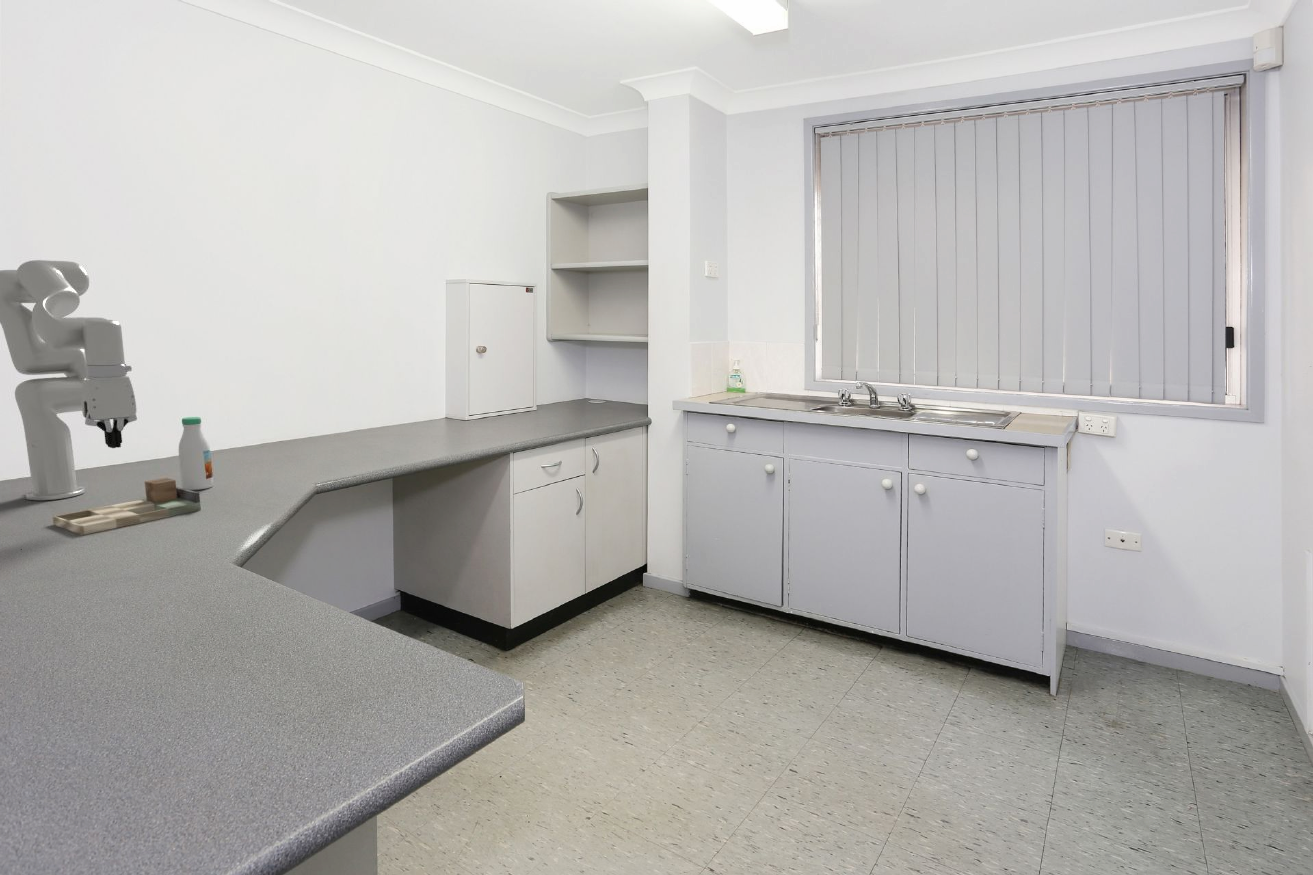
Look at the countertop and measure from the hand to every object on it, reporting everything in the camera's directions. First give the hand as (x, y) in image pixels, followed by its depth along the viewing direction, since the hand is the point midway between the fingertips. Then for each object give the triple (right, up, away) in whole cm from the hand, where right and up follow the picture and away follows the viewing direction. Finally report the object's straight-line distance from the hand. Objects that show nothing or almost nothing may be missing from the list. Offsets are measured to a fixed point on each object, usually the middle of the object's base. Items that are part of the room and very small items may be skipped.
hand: (114, 446), depth 188 cm
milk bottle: (+2, -12, +31) cm, 33 cm away
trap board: (+3, -17, +1) cm, 17 cm away
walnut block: (+6, -14, +9) cm, 17 cm away
